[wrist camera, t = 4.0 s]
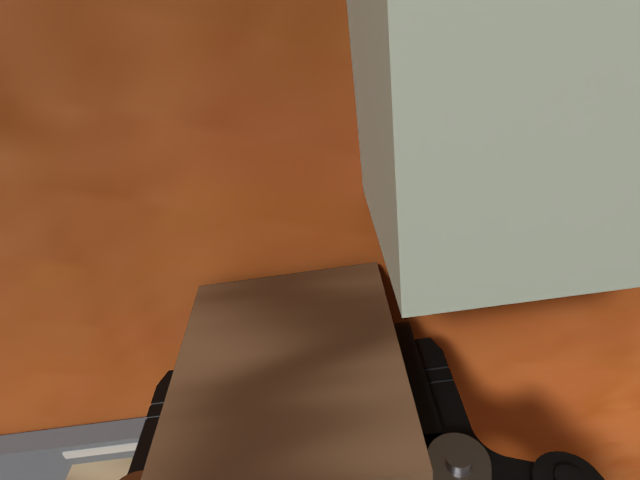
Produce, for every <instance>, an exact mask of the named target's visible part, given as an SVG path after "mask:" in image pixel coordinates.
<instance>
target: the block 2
mask: <svg viewBox="0 0 640 480" xmlns="http://www.w3.org/2000/svg"><path fill="white" fill-rule="evenodd" d="M347 10H348V22H349V33H350V44H351V56H352V67H353V78H354V90H355V101H356V112H357V123H358V135H359V146H360V157H361V169H362V180H363V191H364V194H365V197H366V201H367V204H368V207H369V211H370V214H371V217H372V221H373V224H374V227H375V231H376V234H377V237H378V240H379V244H380V247H381V250H382V254H383V257H384V260H385V264H386V267H387V270H388V274H389V277H390V280H391V283H392V287H393V290H394V293H395V297H396V300H397V303H398V307H399V310H400V313H401V317H402V318H407V317H415V316H422V315H430V314H438V313H445V312H453V311H461V310H468V309H476V308H483V307H491V306H499V305H506V304H514V303H522V302H529V301H537V300H544V299H552V298H560V297H567V296H575V295H583V294H590V293H598V292H605V291H613V290H621V289H628V288H636V287H640V0H347Z"/></svg>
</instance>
